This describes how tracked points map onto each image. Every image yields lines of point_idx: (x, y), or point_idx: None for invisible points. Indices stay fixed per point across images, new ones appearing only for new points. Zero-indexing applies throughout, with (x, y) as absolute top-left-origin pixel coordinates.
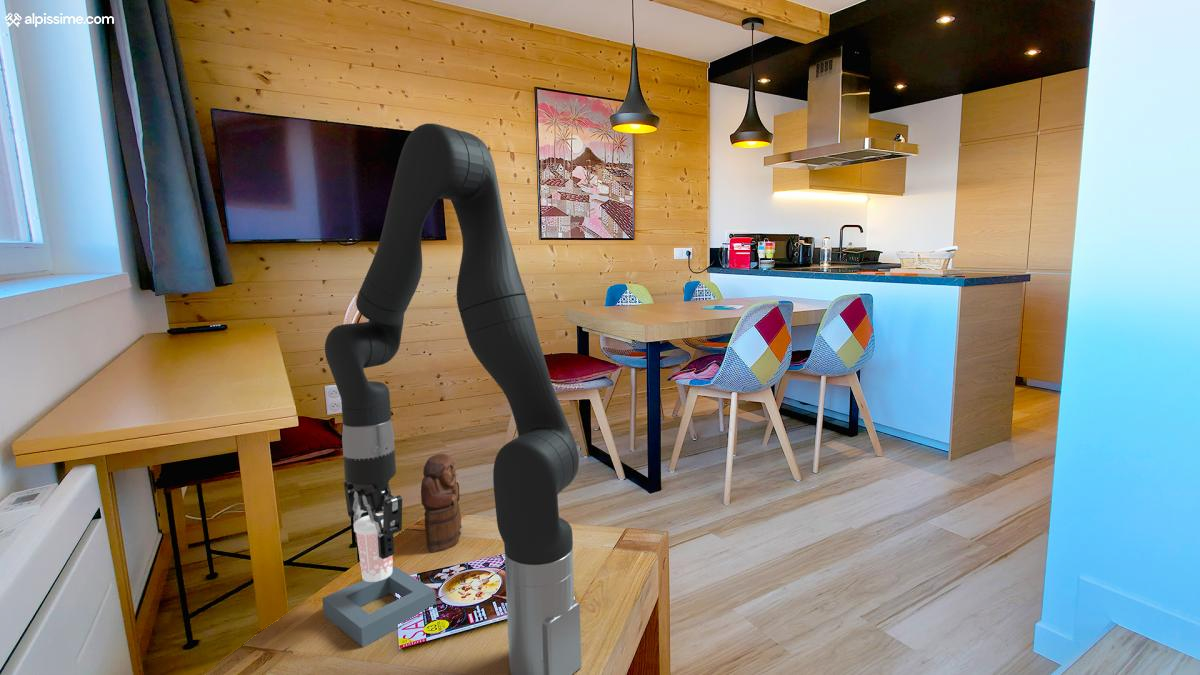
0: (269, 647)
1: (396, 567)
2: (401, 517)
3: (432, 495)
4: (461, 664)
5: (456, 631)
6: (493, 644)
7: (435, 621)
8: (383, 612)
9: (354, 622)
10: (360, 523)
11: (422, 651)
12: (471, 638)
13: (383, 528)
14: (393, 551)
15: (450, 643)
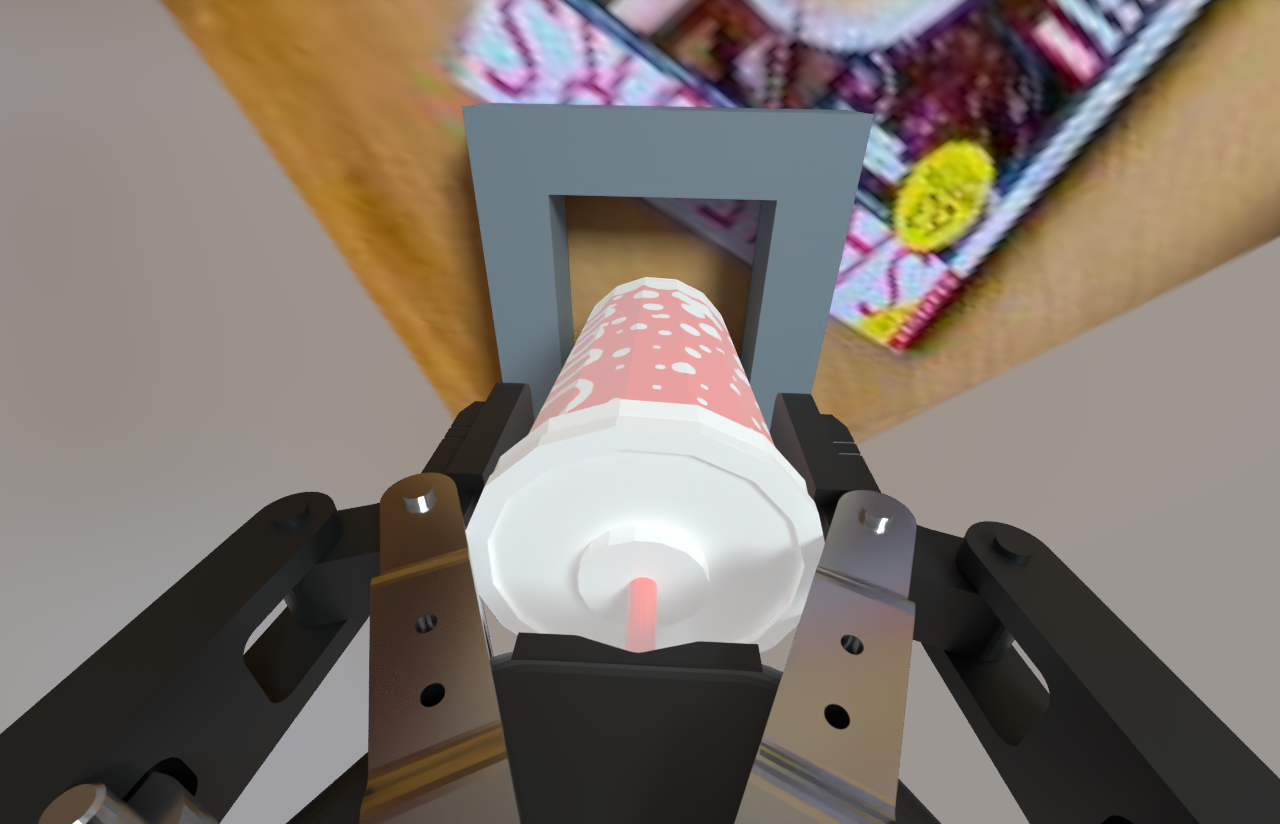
0: None
1: (488, 106)
2: (1163, 670)
3: None
4: (1177, 282)
5: (1051, 168)
6: (1277, 123)
7: (914, 181)
8: (789, 364)
9: None
10: (576, 624)
11: (988, 320)
12: (1147, 158)
13: (943, 672)
14: (838, 422)
15: (1069, 233)
